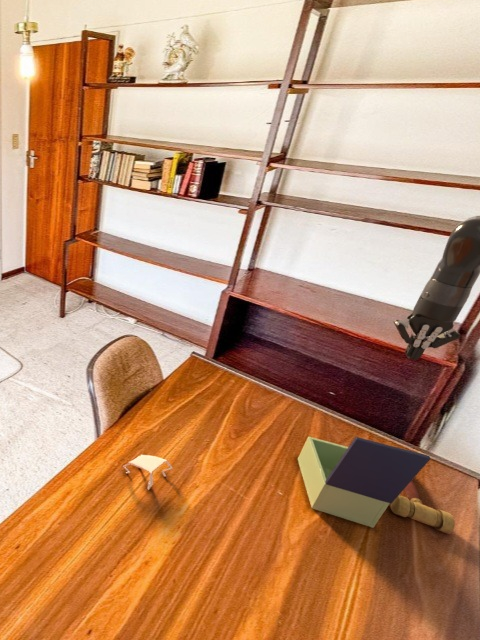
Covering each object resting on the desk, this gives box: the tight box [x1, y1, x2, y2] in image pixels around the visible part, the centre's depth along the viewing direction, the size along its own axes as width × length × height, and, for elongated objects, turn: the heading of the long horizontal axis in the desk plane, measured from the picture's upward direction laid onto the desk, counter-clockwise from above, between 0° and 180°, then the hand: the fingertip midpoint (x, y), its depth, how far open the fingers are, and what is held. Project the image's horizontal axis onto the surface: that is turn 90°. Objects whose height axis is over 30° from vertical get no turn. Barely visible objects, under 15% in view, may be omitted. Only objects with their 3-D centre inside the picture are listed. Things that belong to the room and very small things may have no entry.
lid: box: [325, 436, 431, 505], centre depth 86 cm, size 17×13×1 cm
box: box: [297, 436, 391, 529], centre depth 99 cm, size 16×13×9 cm
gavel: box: [390, 479, 456, 534], centre depth 101 cm, size 21×5×10 cm
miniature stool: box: [122, 454, 174, 491], centre depth 102 cm, size 12×8×5 cm
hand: (410, 357), depth 102 cm, fingers closed
